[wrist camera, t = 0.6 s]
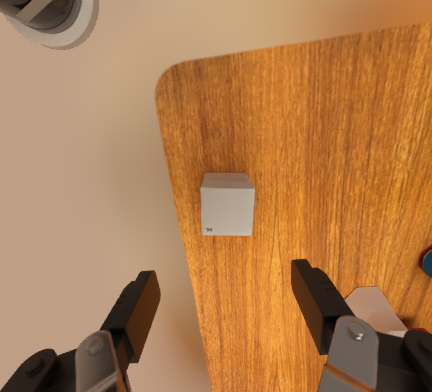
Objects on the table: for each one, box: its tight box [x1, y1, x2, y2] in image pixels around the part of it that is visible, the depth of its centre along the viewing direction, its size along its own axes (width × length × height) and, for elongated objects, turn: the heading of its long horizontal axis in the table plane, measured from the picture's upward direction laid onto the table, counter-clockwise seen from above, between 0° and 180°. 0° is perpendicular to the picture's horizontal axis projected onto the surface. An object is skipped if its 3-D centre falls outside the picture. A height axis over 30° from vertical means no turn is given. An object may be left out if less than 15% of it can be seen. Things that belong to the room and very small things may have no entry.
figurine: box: [345, 286, 409, 338], centre depth 28 cm, size 7×8×18 cm
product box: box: [200, 173, 255, 236], centre depth 26 cm, size 6×6×7 cm
